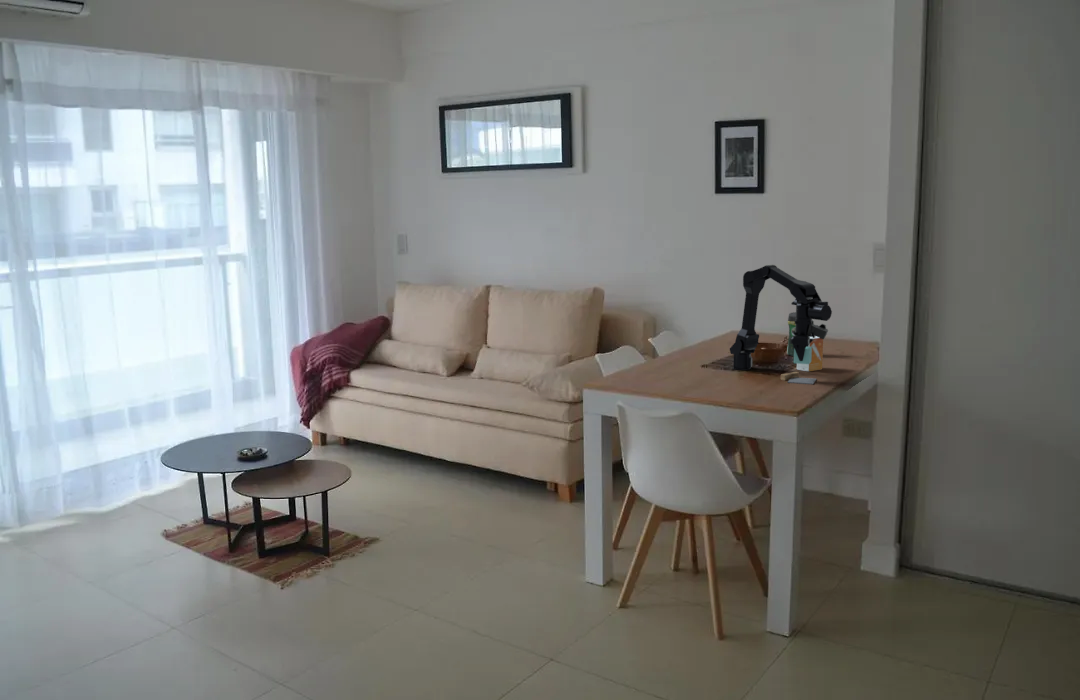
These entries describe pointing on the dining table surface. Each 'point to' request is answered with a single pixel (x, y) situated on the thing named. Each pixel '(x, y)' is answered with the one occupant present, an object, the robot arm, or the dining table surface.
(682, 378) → the dining table surface
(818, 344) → the small box
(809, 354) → the teal block
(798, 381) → the coaster
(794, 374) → the tan bar
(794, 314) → the coffee jar
